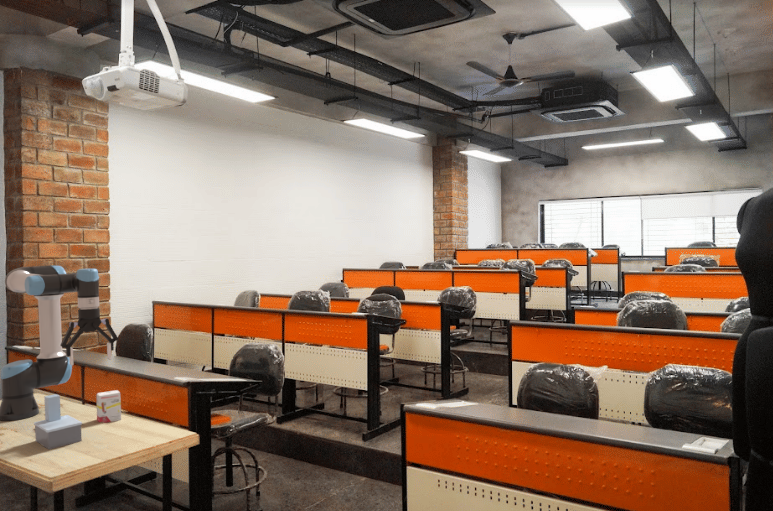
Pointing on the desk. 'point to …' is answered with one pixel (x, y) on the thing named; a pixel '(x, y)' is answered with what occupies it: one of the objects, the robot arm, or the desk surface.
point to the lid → (55, 416)
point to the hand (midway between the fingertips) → (90, 361)
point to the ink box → (108, 406)
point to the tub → (58, 437)
